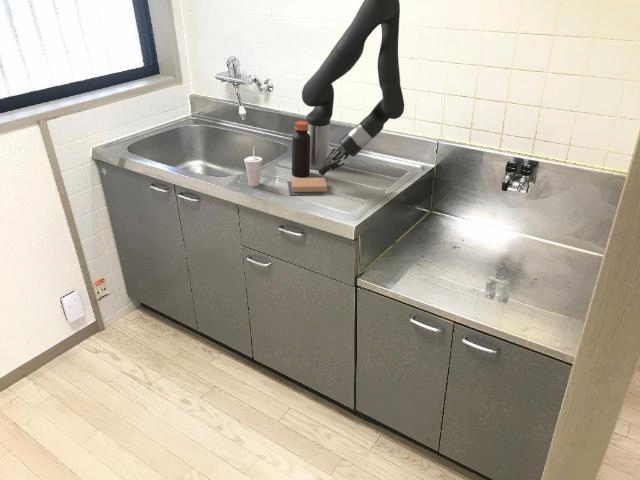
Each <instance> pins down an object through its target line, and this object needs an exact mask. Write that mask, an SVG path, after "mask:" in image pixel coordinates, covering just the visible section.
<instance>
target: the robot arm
mask: <svg viewBox="0 0 640 480" xmlns="http://www.w3.org/2000/svg"><path fill="white" fill-rule="evenodd" d="M400 4H401V3H400V0H363V2H362V4H361V5H360V7H359V9H358V11H357V12H356V14H355V17H354V18H353V19H352V22H351V23H350V25H349V26H348V27H347V29H346V30H345V31H344V33H343V34H342V36H341V37H340V38H339V40H337V42H336V43H335V45H334V46H333V48H332V50H330V52H329V54H328V55H327V57H326V58H325V60H324V61H323V62H322V64H321V65H320V67H319V68H318V69H317V70H316V72H315V73H314V74H313V75H312V76H311V77H310V78H309V79H308V80H307V81H306V83H305V84H304V85H303V87H302V91H301V99H302V102H303V103H304V104H305V105H306V106H307V107H312V108H313V107H314V108H313V109H312V110H311V111H310V112H309V113H308V114H307V115H306V118H305V122H308V131H307V133H308V134H309V135H310V137H311V140H310V169H313V170H317V172H318V174H320V175H321V177H322V176H324V175H325V174H327V173H328V172H329V171H330V170H332V171H335V170H336V169H337V170H338V169H339V168H340V167H343V166H344V165H345V161H346V160H347V158H348V157H349V156H351V157H354V158H355V157H356V155H358V154H359V153H360V152H361V151H362V150H363V149H364V148H365V147H366V146H368V144H370V142H371V141H372V140H373V139H374V138H375V137H376V136H377V135H378V134H380V133H381V132H382V130H383V129H384V127H385V126H384V125H385V123H387V122H388V121H389V120H397V119H399V118H400V117H401V116H402V115H403V113H404V111H405V100H404V95H403V90H402V87H401V74H400V64H399V38H400V37H399V34H400V33H399V31H400V13H401V10H400V9H401V5H400ZM379 26H380V28H381V42H380V47H379V52H378V56H377V57H378V58H377V75H378V84H379V88H380V90H381V93H382V94H381V95H382V98H381V100H379V102H377V104H376V105H375V106H374V107H373V108H372V110H371V112H370V113H369V114H368V115H367V116H366V117H365V118H364V119H362V120H361V121H360V122H359V123H358V124H357V125H355V126H354V127H353V128H351V130H350V131H348V132H347V133H346V134H345V135H344V136H343V137H342V138H341V139H340V140H339V143H340V146H339V147H337V148H335V147H334V148H332V150H331V151H330V134H331V133H330V128H331V120H332V116H333V113H334V100H335V90H334V86H333V83H335V82H336V81H337V80H339V79H340V78H342V77H343V76H345V75H346V74H347V73H349V72H350V71H351V70H352V69H353V68H354V67H355V65H356V64H357V63H358V61H359V60H360V58H361V57H362V55H363V52H364V49H365V44H366V41H367V39H368V37H369V36H370V35H371V34H372V33H373V32H374V31H375V29H376V28H378V27H379ZM329 151H330V153H329Z"/></svg>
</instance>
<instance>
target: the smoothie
mask: <svg viewBox="0 0 640 480" xmlns="http://www.w3.org/2000/svg"><path fill="white" fill-rule="evenodd" d="M255 149H256V148H255V146H252V155H251V156H250V155H249V156H247V157H245V158H244V160H243V161H244V164H245V168H246V169H245V170H246V175H247V180H248V186H250V187H258V186H259V185H260V180H261V172H262V171H261V170H262V164H263V158H262V157H260V156H255V155H256V154H255V153H256V151H255Z"/></svg>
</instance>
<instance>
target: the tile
mask: <svg viewBox="0 0 640 480" xmlns="http://www.w3.org/2000/svg"><path fill="white" fill-rule="evenodd" d="M290 182H291V185H292V190H293V192H324V193H325V192H327V191H328V184H327V182H326V180H325V178H324V177H294V178H291V179H290Z"/></svg>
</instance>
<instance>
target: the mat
mask: <svg viewBox="0 0 640 480" xmlns="http://www.w3.org/2000/svg"><path fill="white" fill-rule="evenodd" d="M287 187H288V192H289V196H291V197H293V196H295V197H296V196H298V197H299V196H325V192H293V190H292V185H291V181H287Z"/></svg>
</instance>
